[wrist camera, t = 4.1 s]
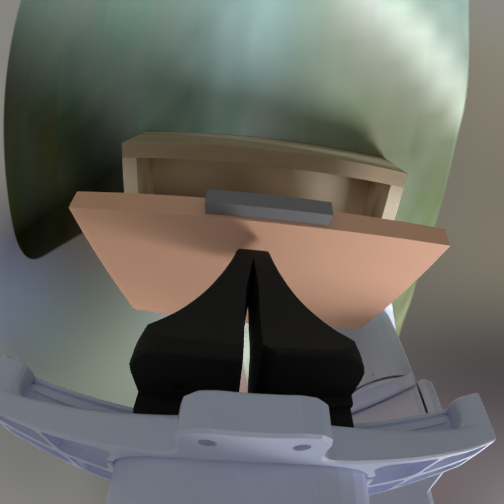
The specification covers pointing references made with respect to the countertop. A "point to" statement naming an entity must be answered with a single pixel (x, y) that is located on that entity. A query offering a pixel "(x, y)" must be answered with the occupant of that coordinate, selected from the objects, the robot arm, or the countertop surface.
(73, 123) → the countertop surface
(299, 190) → the storage box
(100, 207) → the lid
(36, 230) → the countertop surface
